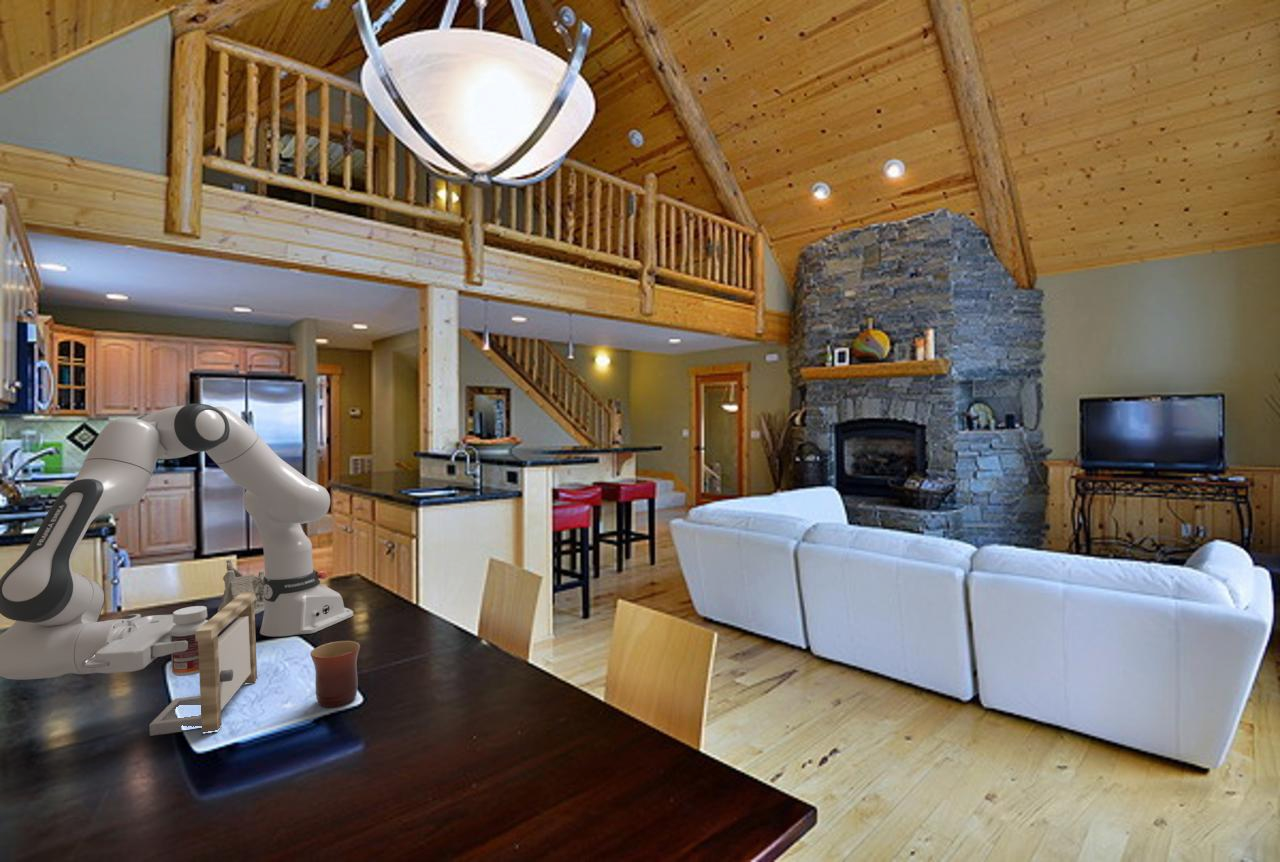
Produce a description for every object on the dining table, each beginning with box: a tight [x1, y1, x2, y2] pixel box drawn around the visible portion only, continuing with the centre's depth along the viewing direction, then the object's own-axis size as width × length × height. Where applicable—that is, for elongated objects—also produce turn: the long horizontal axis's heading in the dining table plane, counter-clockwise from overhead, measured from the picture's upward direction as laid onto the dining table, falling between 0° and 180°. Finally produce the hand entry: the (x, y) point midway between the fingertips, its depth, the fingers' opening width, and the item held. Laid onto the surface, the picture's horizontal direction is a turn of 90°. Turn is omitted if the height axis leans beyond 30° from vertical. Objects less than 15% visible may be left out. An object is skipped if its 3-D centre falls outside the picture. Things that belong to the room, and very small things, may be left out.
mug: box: [310, 640, 361, 708], centre depth 125 cm, size 12×9×10 cm
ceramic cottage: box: [217, 558, 265, 619], centre depth 184 cm, size 16×16×15 cm
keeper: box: [148, 695, 202, 737], centre depth 118 cm, size 10×9×2 cm
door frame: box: [195, 591, 258, 733], centre depth 122 cm, size 25×2×19 cm, turn 16°
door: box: [218, 616, 251, 711], centre depth 123 cm, size 18×3×12 cm, turn 16°
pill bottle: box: [170, 605, 209, 677], centre depth 117 cm, size 6×6×11 cm
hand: (196, 637), depth 117 cm, fingers closed on pill bottle, 6 cm apart
